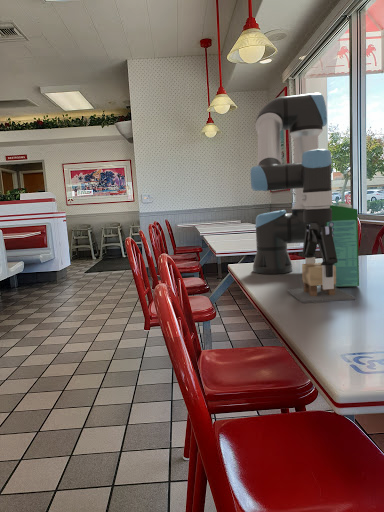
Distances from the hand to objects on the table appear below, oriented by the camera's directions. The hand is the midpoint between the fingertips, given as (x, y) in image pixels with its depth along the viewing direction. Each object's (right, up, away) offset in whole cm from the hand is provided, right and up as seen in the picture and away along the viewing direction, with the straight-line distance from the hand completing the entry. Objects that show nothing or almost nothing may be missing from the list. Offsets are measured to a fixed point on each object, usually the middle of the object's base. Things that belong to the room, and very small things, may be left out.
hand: (318, 284), depth 108 cm
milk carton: (+10, -1, +11) cm, 15 cm away
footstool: (0, -3, 0) cm, 3 cm away
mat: (0, -3, 0) cm, 3 cm away
